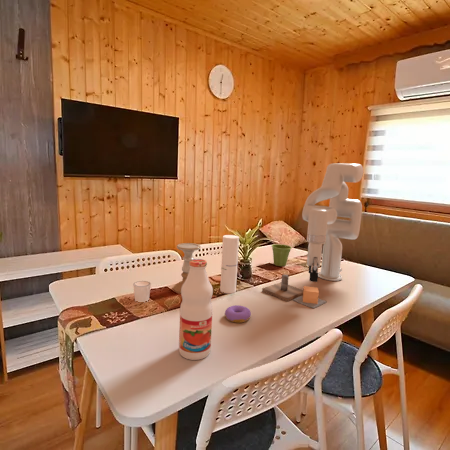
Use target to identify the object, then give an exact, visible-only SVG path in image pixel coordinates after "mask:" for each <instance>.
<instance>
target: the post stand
mask: <svg viewBox="0 0 450 450" xmlns="http://www.w3.org/2000/svg"><path fill="white" fill-rule="evenodd" d="M289 277H290V276H289V275H288V274H284V273H283V274H282V275H281V282H278V283H274V284H272V285H268V286H264V287H262V288H261V290H262V293H265V294H268V295H270V296H272V297H275V298H278V299H280V300H283V301H285V302H290V301H293V299H295V298H298V297H300V296H303V289H302V288H300V287H296V286H293V285H290V284H289V279H290V278H289Z"/></svg>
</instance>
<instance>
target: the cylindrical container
mask: <svg viewBox="0 0 450 450" xmlns="http://www.w3.org/2000/svg"><path fill="white" fill-rule="evenodd" d="M239 244H240V236H238V235H234V234H225V235H223V236H222V248H221V265H220V267H221V268H220V270H221V271H220V284H219V285H220V288H219V291H220V292H221V293H223V292H224V293H223V294H235V293H236V291H237V280H238V279H237V276H238V262H239Z"/></svg>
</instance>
